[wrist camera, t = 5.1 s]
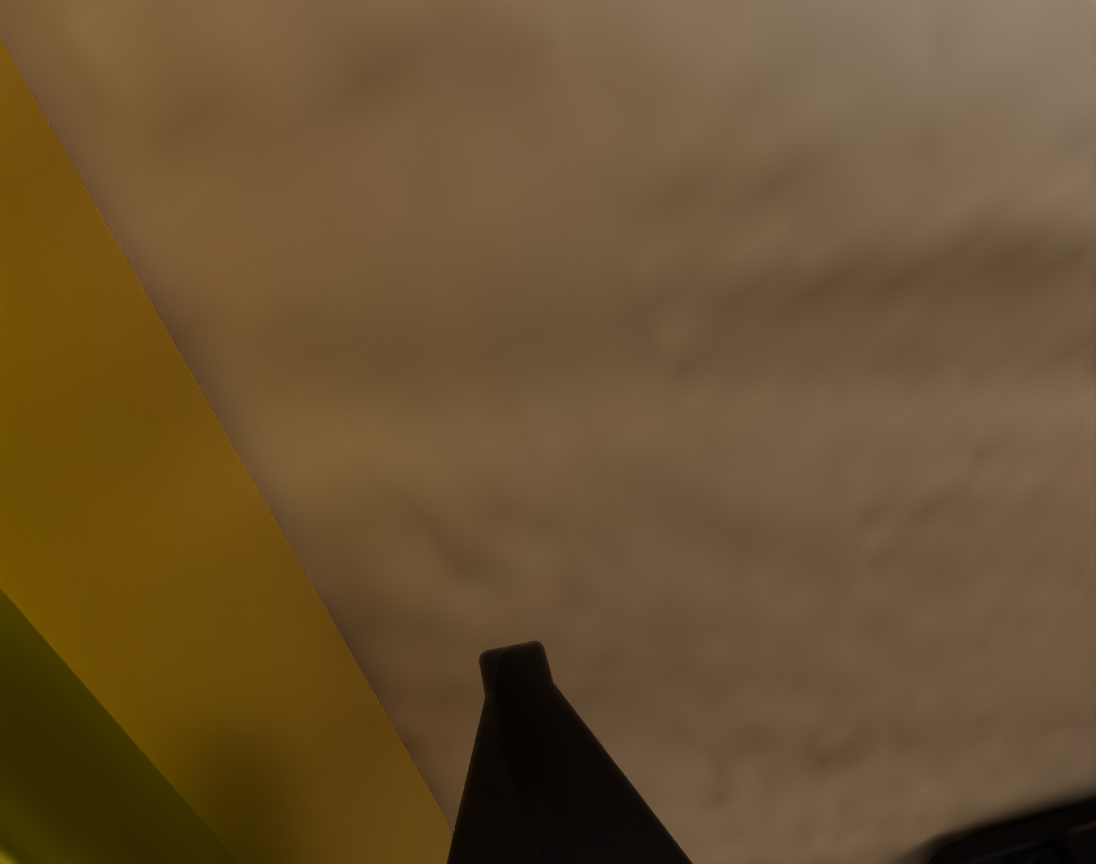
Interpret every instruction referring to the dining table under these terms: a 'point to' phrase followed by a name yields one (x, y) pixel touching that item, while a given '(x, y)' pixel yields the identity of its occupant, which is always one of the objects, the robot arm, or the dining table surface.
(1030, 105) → the dining table surface
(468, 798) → the robot arm
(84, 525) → the element tile
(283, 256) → the dining table surface
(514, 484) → the dining table surface
